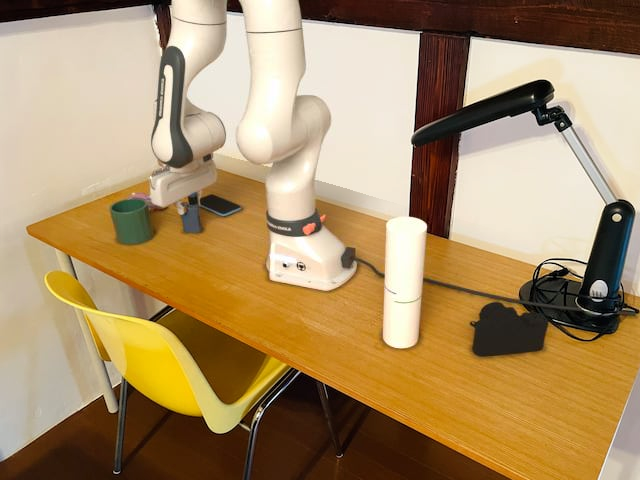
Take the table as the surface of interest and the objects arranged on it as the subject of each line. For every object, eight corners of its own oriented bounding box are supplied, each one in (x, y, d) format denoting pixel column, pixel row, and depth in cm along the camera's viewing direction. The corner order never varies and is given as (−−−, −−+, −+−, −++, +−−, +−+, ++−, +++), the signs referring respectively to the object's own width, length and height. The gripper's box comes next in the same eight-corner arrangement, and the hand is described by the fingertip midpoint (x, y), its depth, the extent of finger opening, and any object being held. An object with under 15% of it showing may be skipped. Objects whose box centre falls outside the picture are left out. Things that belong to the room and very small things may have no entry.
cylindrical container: (396, 321, 111) (401, 213, 98) (425, 335, 107) (434, 224, 94) (375, 338, 106) (378, 226, 93) (404, 353, 103) (411, 239, 89)
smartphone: (211, 193, 164) (243, 206, 156) (212, 195, 165) (243, 209, 157) (191, 200, 160) (223, 214, 151) (191, 203, 160) (223, 217, 152)
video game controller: (133, 213, 158) (121, 198, 152) (140, 201, 160) (128, 186, 154) (162, 218, 155) (151, 202, 149) (168, 205, 157) (158, 190, 152)
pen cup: (161, 233, 144) (154, 202, 139) (134, 247, 137) (126, 216, 132) (137, 225, 148) (130, 195, 143) (110, 239, 141) (101, 208, 136)
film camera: (527, 322, 111) (535, 286, 106) (548, 352, 103) (557, 315, 98) (457, 328, 109) (462, 292, 104) (472, 360, 101) (478, 322, 96)
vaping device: (201, 233, 144) (194, 192, 138) (182, 232, 144) (174, 191, 138) (204, 228, 146) (197, 188, 140) (185, 228, 146) (177, 187, 140)
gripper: (157, 175, 126) (168, 228, 133) (217, 150, 141) (224, 198, 148) (139, 170, 128) (150, 222, 136) (199, 146, 143) (207, 194, 151)
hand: (189, 209), depth 142 cm, fingers closed on vaping device, 3 cm apart
